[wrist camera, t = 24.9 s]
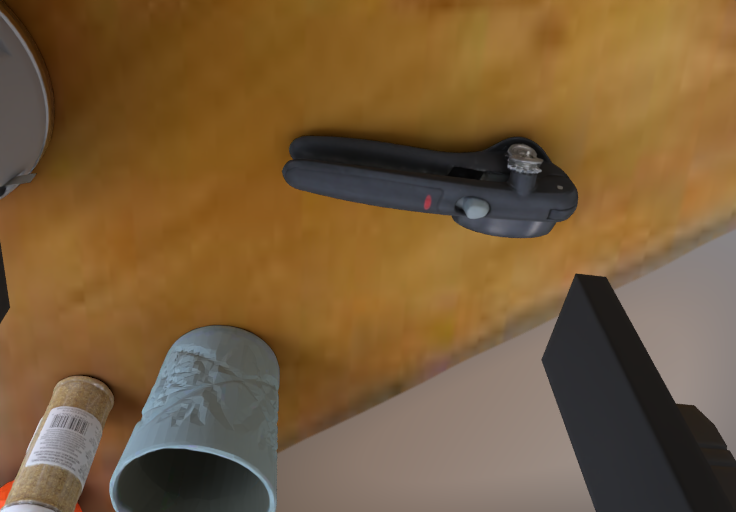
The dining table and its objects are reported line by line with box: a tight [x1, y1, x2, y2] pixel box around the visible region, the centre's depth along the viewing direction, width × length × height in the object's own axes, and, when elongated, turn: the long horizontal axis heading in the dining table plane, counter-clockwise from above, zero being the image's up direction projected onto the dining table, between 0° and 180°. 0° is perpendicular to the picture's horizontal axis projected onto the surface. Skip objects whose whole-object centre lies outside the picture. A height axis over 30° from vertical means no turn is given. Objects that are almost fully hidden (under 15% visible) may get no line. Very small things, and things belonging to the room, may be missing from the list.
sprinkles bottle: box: [0, 376, 114, 512], centre depth 49 cm, size 5×5×14 cm
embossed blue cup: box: [110, 325, 280, 512], centre depth 48 cm, size 10×10×12 cm
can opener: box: [282, 136, 578, 238], centre depth 42 cm, size 18×7×6 cm, turn 80°
